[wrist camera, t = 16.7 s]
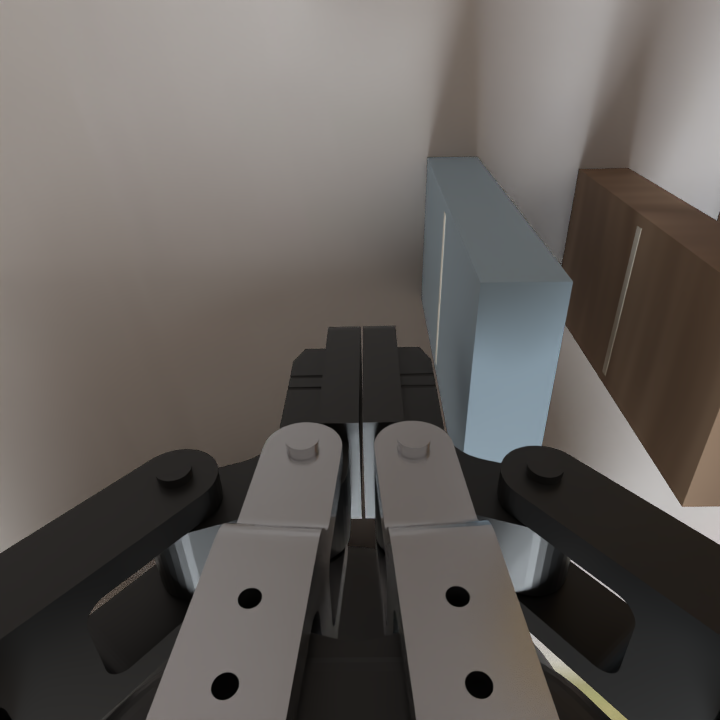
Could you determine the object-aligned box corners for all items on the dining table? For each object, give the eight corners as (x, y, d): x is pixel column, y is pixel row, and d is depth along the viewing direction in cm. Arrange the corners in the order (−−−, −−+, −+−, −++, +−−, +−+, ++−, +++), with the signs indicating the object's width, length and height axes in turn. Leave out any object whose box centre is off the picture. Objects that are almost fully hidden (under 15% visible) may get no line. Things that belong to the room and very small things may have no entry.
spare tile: (420, 298, 21) (458, 493, 13) (427, 157, 19) (479, 282, 10) (465, 297, 21) (533, 493, 13) (477, 156, 18) (574, 281, 10)
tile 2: (553, 307, 21) (680, 506, 13) (578, 168, 19) (759, 302, 10) (598, 306, 21) (755, 505, 13) (629, 168, 19) (852, 301, 10)
